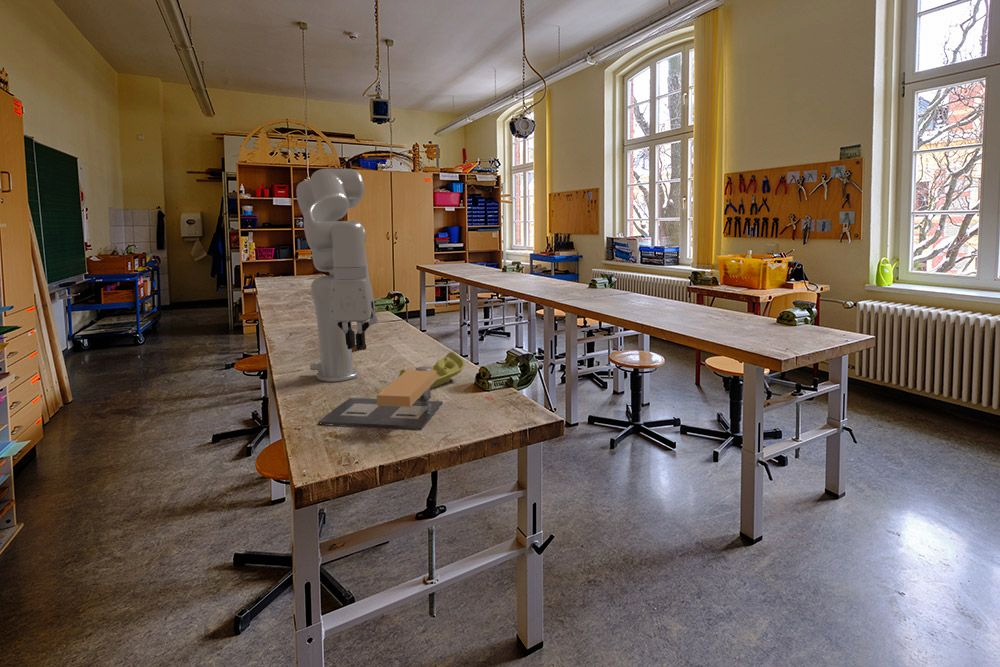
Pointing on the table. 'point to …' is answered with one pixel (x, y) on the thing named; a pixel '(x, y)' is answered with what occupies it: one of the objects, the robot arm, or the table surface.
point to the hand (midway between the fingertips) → (356, 347)
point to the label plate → (383, 413)
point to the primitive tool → (358, 349)
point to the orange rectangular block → (407, 387)
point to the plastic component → (446, 368)
